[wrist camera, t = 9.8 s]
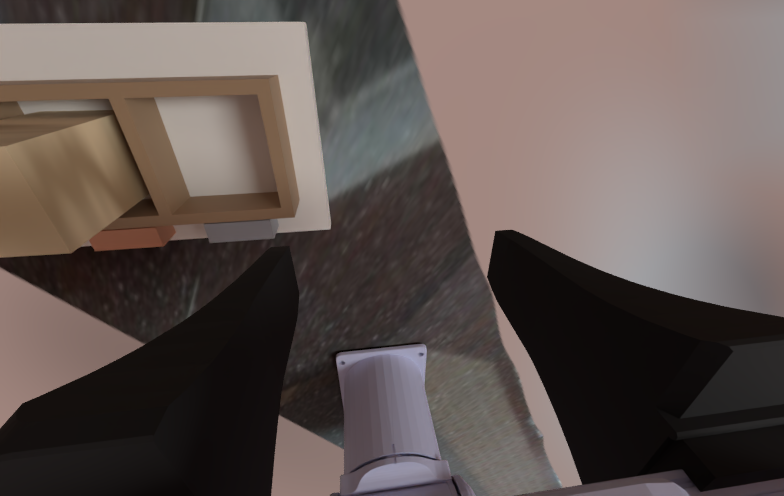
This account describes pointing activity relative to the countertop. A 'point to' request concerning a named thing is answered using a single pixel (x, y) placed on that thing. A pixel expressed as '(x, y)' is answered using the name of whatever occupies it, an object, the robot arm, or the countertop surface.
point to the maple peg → (63, 180)
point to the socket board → (187, 120)
